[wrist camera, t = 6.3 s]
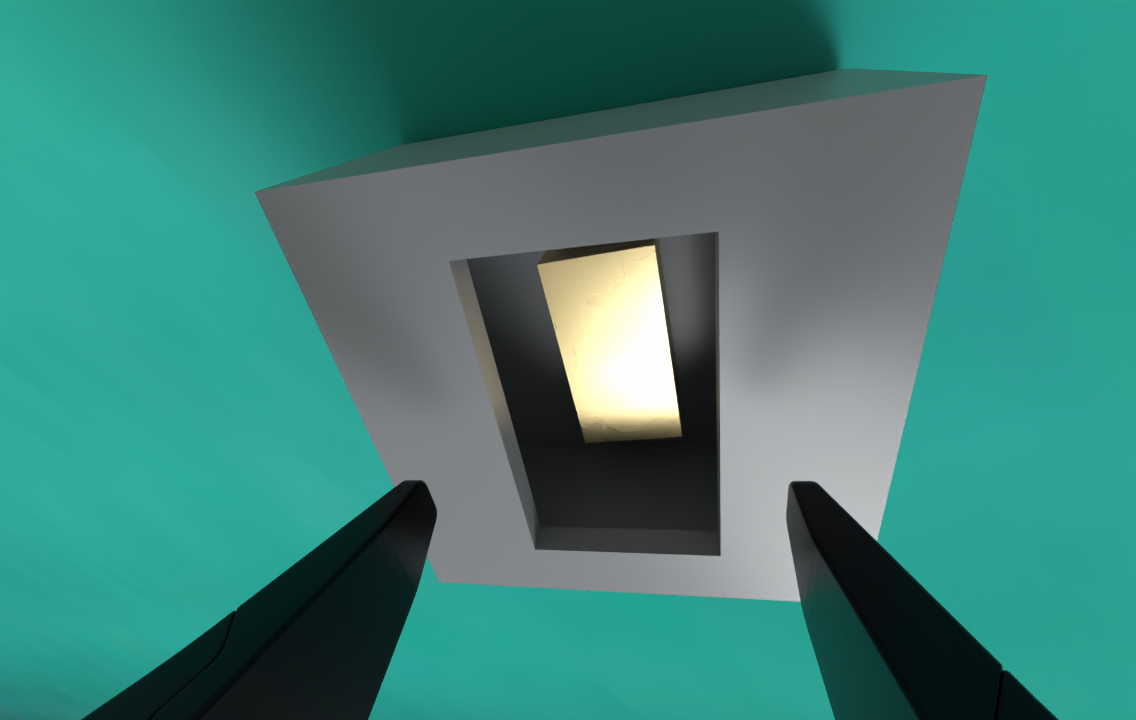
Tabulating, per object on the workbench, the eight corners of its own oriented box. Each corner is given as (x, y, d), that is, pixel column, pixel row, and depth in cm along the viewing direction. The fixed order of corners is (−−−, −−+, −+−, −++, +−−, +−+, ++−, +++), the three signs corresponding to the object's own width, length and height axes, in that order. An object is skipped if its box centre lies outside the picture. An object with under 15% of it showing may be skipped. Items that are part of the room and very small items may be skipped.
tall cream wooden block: (655, 217, 14) (654, 244, 12) (679, 389, 17) (681, 436, 15) (555, 235, 14) (537, 265, 12) (594, 397, 17) (585, 443, 15)
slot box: (846, 68, 12) (987, 74, 7) (804, 448, 18) (861, 604, 13) (398, 145, 14) (254, 191, 9) (495, 452, 20) (439, 582, 15)
